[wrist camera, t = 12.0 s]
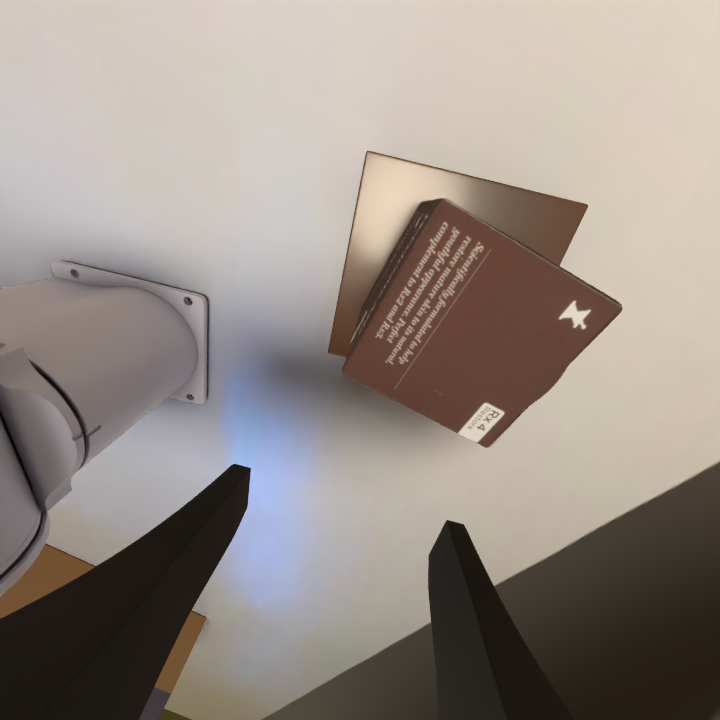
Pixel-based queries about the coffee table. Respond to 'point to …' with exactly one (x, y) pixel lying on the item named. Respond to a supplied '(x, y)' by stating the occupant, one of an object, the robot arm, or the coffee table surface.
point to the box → (471, 323)
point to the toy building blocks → (63, 568)
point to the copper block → (422, 183)
